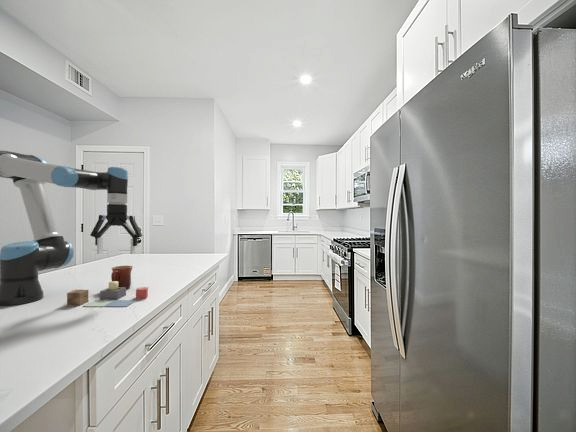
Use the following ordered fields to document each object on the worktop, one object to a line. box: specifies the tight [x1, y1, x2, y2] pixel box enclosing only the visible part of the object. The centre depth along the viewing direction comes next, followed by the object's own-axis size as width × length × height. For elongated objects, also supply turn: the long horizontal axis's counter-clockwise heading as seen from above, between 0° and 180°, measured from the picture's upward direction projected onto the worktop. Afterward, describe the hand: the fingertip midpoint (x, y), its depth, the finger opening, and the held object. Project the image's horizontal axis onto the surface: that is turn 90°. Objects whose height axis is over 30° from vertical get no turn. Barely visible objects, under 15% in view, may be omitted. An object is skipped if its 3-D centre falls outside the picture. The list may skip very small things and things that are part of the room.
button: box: [108, 280, 118, 291], centre depth 129 cm, size 4×4×4 cm
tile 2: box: [105, 299, 137, 308], centre depth 120 cm, size 8×8×1 cm
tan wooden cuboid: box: [66, 289, 89, 307], centre depth 120 cm, size 5×5×5 cm
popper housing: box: [99, 287, 127, 301], centre depth 129 cm, size 7×7×4 cm
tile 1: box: [82, 299, 116, 308], centre depth 120 cm, size 8×8×1 cm
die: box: [135, 286, 149, 300], centre depth 129 cm, size 4×4×4 cm
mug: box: [110, 265, 133, 290], centre depth 142 cm, size 12×9×10 cm
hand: (116, 253), depth 129 cm, fingers open, 13 cm apart
